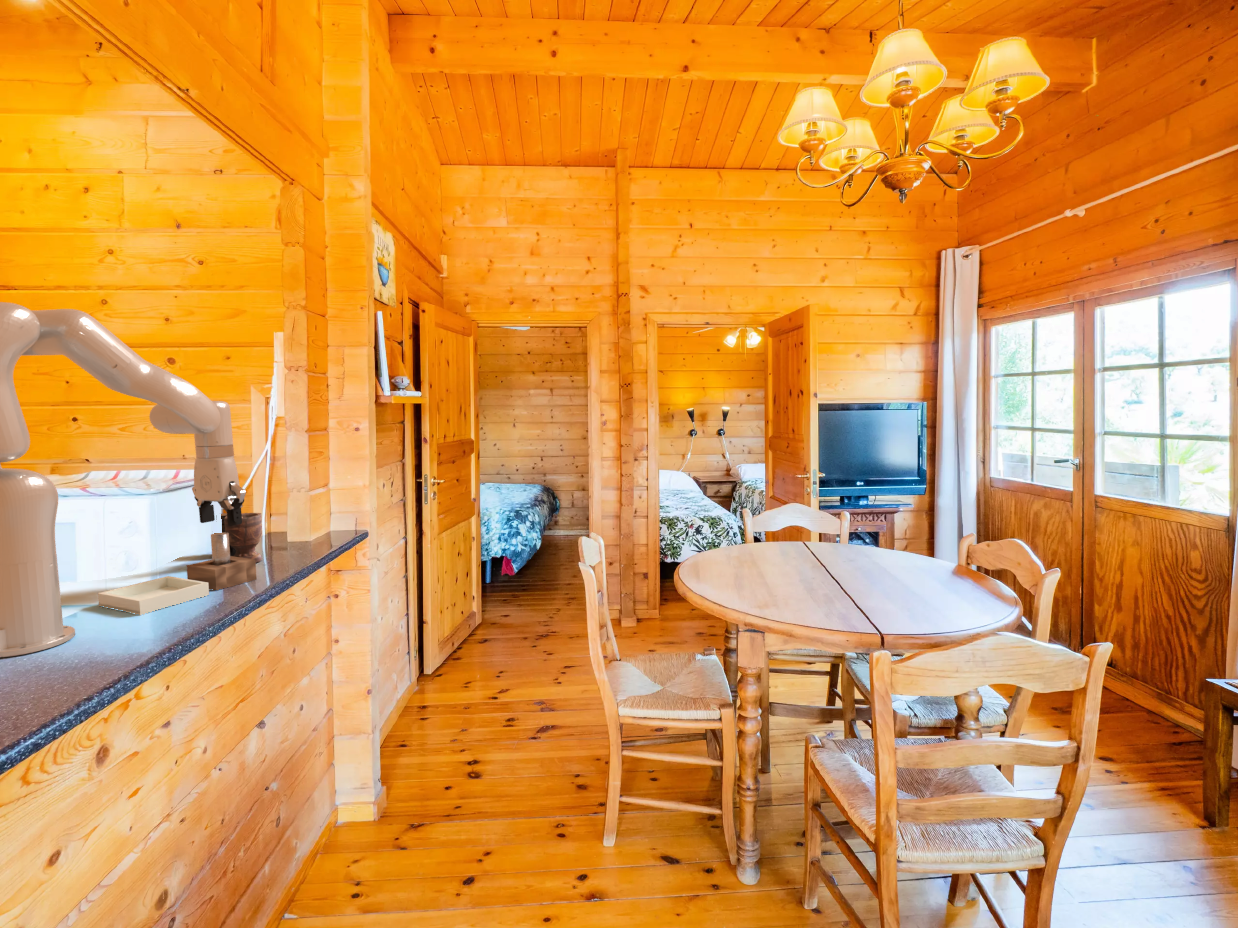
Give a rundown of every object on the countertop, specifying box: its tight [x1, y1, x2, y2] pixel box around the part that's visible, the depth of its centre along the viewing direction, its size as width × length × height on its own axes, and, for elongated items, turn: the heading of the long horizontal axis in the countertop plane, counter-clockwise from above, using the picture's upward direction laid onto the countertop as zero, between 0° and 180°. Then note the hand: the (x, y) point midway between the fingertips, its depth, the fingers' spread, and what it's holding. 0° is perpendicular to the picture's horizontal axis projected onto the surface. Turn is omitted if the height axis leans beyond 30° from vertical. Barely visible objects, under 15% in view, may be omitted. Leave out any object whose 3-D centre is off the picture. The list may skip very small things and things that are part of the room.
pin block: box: [186, 556, 257, 591], centre depth 145 cm, size 10×10×5 cm
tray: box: [97, 575, 210, 616], centre depth 131 cm, size 14×14×3 cm
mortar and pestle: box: [217, 500, 263, 563], centre depth 162 cm, size 12×9×20 cm
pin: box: [210, 532, 231, 566], centre depth 145 cm, size 4×4×12 cm
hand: (221, 523), depth 144 cm, fingers open, 9 cm apart
